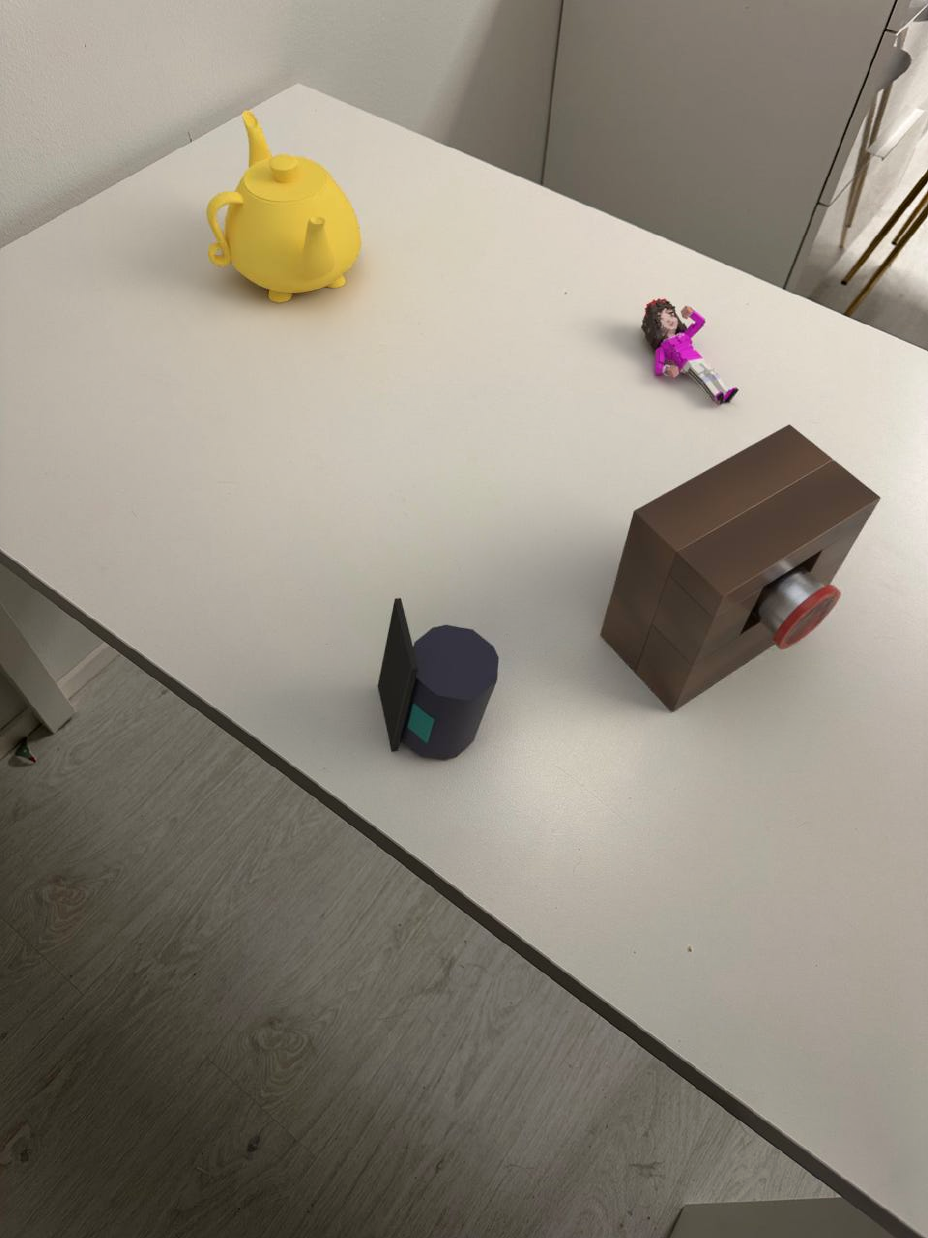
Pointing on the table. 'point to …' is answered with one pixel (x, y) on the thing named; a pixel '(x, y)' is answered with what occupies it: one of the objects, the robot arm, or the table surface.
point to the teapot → (285, 223)
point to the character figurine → (681, 348)
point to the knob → (794, 605)
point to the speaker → (435, 686)
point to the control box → (727, 560)
